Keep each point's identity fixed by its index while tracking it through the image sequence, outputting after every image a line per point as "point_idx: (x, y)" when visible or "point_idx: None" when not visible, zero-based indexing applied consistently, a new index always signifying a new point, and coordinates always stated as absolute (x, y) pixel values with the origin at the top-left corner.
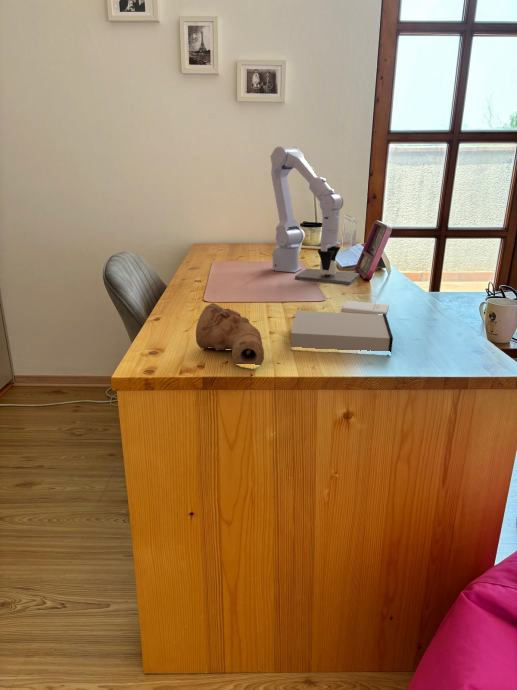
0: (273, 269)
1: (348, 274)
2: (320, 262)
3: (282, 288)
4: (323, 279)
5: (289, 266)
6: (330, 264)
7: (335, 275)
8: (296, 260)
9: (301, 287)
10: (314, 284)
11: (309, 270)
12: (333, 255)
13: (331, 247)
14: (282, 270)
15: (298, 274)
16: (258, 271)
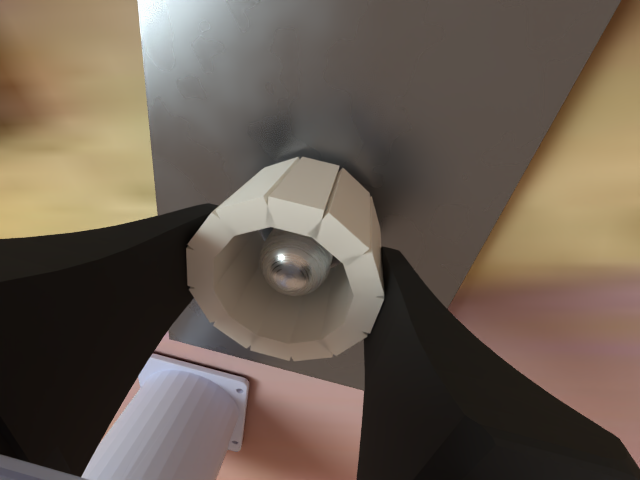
0: (240, 448)
1: (239, 6)
2: (299, 351)
3: (632, 439)
4: (478, 251)
5: (226, 425)
6: (379, 264)
7: (322, 154)
8: (176, 434)
9: (633, 366)
10: (552, 297)
11: (214, 329)
12: (138, 278)
13: (16, 431)
14: (243, 423)
15: (344, 383)
16: (270, 475)
